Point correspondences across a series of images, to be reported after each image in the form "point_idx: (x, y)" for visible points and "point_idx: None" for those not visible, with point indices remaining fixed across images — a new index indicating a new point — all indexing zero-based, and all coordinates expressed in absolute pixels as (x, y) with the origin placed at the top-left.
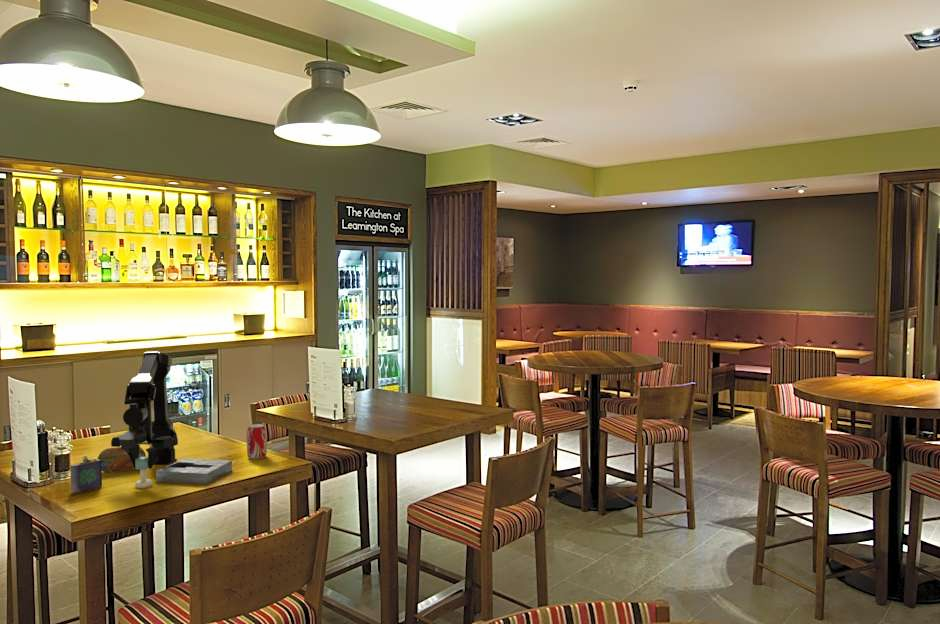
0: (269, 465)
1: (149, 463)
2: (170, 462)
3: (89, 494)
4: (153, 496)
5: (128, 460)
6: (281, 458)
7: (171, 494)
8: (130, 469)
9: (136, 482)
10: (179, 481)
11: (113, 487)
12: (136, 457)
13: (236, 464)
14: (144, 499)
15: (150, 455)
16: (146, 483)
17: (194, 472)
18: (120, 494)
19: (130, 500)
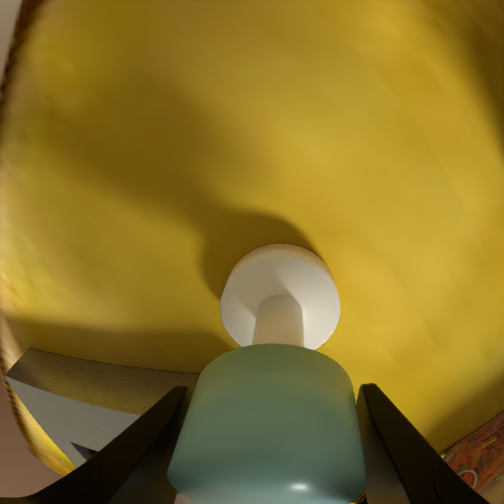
0: None
1: (149, 422)
2: (361, 500)
3: (500, 63)
4: (57, 125)
5: (488, 460)
6: None
7: (16, 193)
8: (472, 435)
9: (318, 280)
10: (122, 371)
11: (465, 222)
12: (378, 494)
13: None
14: (67, 61)
15: (70, 490)
16: (226, 283)
17: (47, 397)
18: (306, 74)
19: (130, 7)
